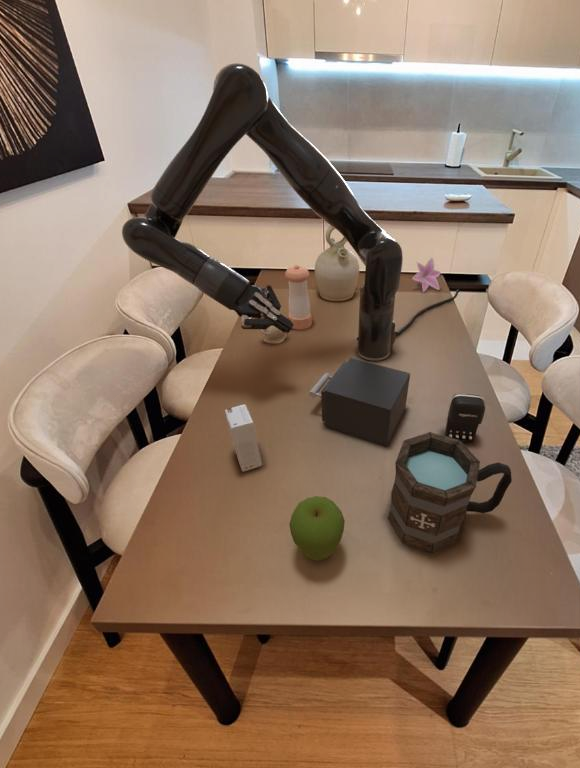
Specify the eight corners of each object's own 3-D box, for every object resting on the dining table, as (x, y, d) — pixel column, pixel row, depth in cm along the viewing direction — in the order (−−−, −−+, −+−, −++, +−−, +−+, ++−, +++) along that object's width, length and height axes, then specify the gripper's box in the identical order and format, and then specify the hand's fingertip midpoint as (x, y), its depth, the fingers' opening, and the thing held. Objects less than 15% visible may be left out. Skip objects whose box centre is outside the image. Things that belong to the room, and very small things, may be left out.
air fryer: (325, 427, 90) (324, 390, 83) (349, 392, 100) (350, 357, 93) (386, 447, 86) (390, 410, 79) (405, 408, 96) (410, 373, 89)
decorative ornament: (290, 339, 119) (288, 323, 116) (265, 348, 115) (263, 332, 112) (282, 333, 122) (281, 317, 118) (258, 342, 117) (256, 326, 114)
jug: (358, 304, 138) (361, 230, 123) (313, 303, 138) (310, 229, 123) (358, 285, 150) (361, 216, 135) (317, 284, 150) (315, 215, 135)
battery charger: (443, 443, 87) (453, 403, 80) (442, 430, 90) (451, 391, 83) (476, 446, 86) (488, 406, 79) (474, 433, 89) (486, 394, 82)
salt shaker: (310, 330, 124) (307, 270, 112) (287, 329, 124) (282, 269, 112) (312, 318, 129) (310, 261, 117) (290, 318, 129) (285, 260, 117)
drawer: (305, 415, 91) (303, 385, 86) (328, 385, 101) (328, 356, 95) (377, 439, 86) (380, 408, 81) (395, 404, 95) (399, 375, 90)
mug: (391, 553, 67) (400, 498, 57) (383, 487, 77) (390, 432, 68) (507, 551, 67) (534, 497, 58) (483, 486, 78) (503, 431, 69)
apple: (349, 567, 65) (351, 527, 57) (298, 581, 63) (293, 542, 55) (336, 521, 71) (336, 480, 64) (289, 533, 69) (283, 492, 62)
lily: (405, 293, 149) (416, 276, 141) (405, 269, 154) (417, 252, 146) (433, 302, 152) (446, 285, 143) (433, 279, 157) (446, 262, 149)
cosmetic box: (263, 466, 81) (255, 422, 73) (241, 473, 79) (231, 429, 72) (255, 445, 85) (247, 402, 78) (233, 452, 83) (223, 408, 76)
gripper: (210, 294, 78) (286, 342, 83) (240, 254, 86) (308, 300, 91) (202, 313, 84) (273, 357, 89) (231, 274, 91) (295, 317, 96)
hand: (291, 328), depth 90 cm, fingers closed
